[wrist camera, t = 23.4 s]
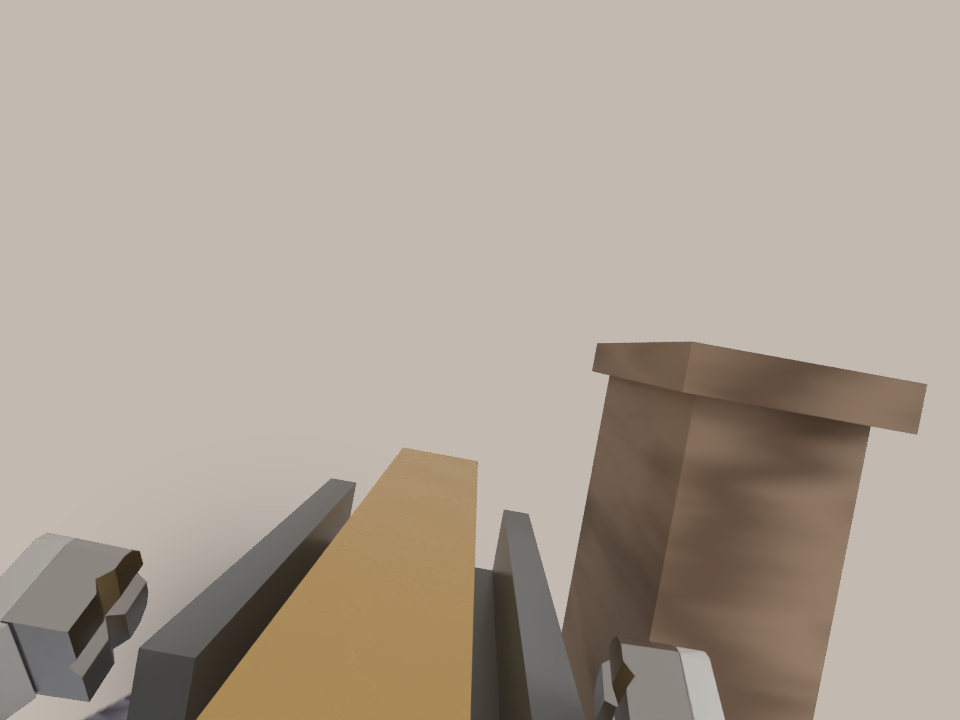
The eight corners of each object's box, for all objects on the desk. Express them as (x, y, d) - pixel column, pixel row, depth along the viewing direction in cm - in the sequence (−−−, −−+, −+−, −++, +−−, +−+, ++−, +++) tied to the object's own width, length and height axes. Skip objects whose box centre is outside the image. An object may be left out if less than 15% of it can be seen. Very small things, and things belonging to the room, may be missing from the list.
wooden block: (389, 521, 29) (403, 447, 29) (464, 535, 29) (477, 461, 29) (99, 1085, 7) (151, 777, 7) (411, 1139, 7) (466, 834, 7)
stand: (636, 838, 34) (726, 366, 33) (759, 1228, 19) (926, 384, 18) (509, 814, 34) (597, 343, 33) (531, 1187, 19) (692, 341, 18)
